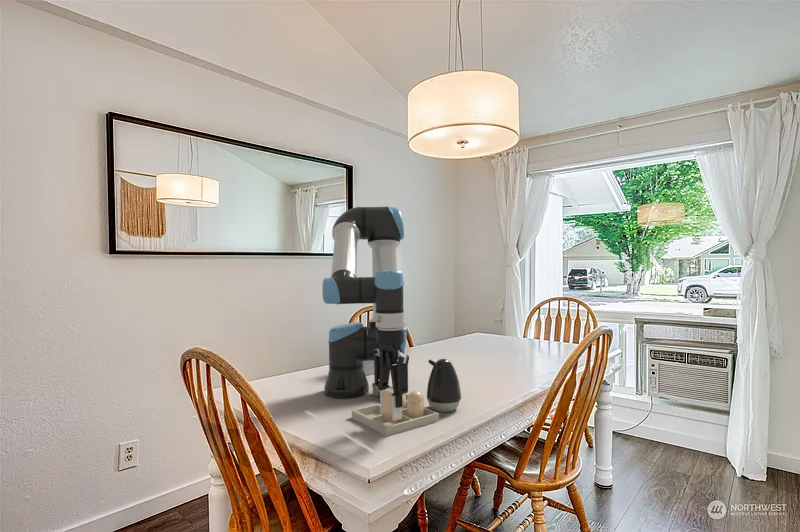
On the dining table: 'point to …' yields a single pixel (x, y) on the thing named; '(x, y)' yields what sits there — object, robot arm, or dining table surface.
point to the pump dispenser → (443, 387)
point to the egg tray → (374, 420)
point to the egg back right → (415, 405)
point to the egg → (387, 406)
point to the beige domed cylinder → (403, 400)
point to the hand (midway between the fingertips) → (391, 416)
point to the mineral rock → (377, 392)
